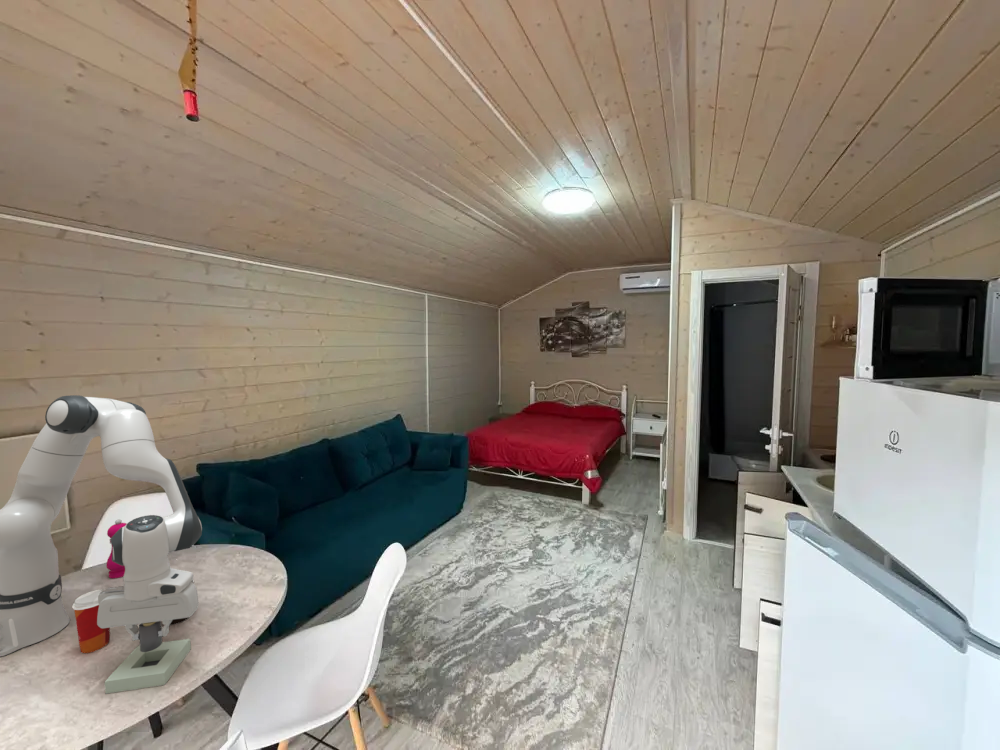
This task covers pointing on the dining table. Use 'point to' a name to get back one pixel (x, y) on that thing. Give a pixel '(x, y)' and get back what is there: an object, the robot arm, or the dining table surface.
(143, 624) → the plug
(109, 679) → the socket
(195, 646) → the dining table surface
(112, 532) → the pepper mill
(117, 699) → the dining table surface
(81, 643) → the paper cup
